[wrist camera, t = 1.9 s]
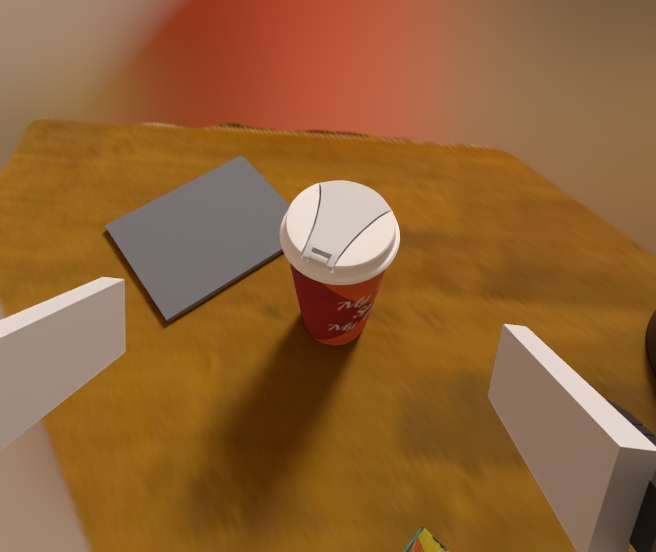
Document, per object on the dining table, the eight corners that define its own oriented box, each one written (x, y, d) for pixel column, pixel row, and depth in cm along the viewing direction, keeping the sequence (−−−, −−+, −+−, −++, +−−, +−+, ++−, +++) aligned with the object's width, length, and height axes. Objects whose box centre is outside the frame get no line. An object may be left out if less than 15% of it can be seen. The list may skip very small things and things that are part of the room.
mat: (242, 159, 48) (242, 154, 48) (313, 233, 43) (312, 229, 43) (107, 229, 43) (104, 225, 42) (168, 323, 38) (166, 320, 37)
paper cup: (356, 373, 36) (374, 293, 24) (275, 335, 37) (254, 243, 25) (390, 298, 39) (421, 196, 27) (316, 267, 41) (313, 157, 29)
